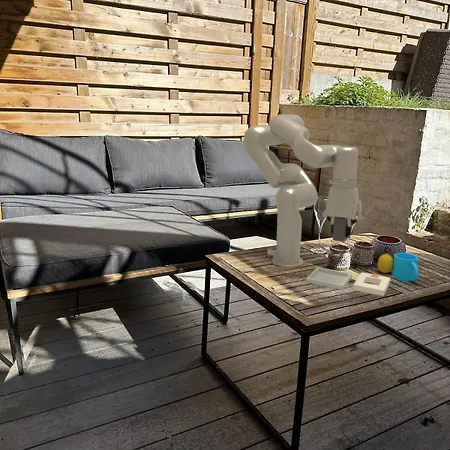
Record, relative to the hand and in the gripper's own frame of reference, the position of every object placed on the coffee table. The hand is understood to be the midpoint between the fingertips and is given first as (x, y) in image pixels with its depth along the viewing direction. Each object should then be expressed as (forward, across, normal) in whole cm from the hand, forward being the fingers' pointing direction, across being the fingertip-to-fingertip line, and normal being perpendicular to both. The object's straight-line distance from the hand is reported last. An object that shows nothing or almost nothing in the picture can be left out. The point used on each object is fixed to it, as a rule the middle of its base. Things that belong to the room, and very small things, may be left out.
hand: (340, 235), depth 146 cm
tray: (+18, -3, 0) cm, 18 cm away
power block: (+18, +11, +2) cm, 21 cm away
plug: (+1, 0, 0) cm, 1 cm away
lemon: (+18, +12, +18) cm, 29 cm away
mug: (+18, +20, +17) cm, 32 cm away
